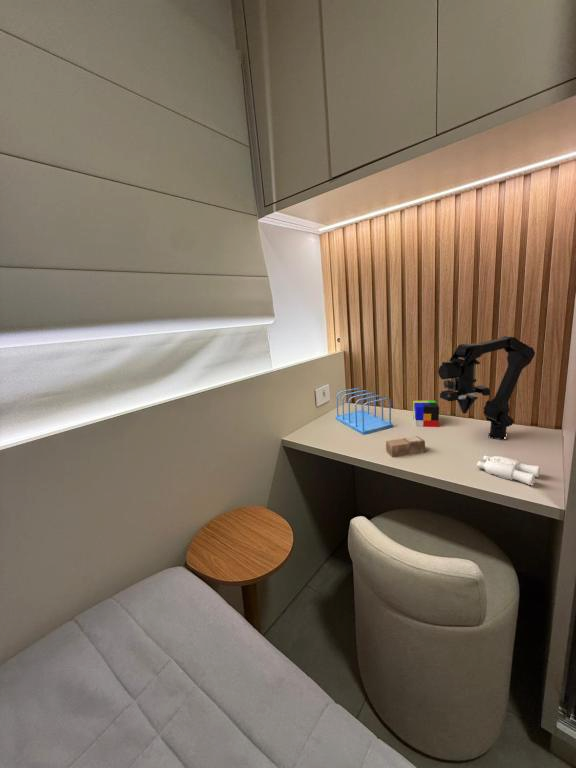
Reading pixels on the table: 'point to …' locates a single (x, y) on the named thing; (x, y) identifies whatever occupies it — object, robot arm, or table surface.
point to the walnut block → (405, 446)
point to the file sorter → (364, 415)
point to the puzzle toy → (426, 413)
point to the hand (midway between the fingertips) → (464, 413)
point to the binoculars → (509, 469)
